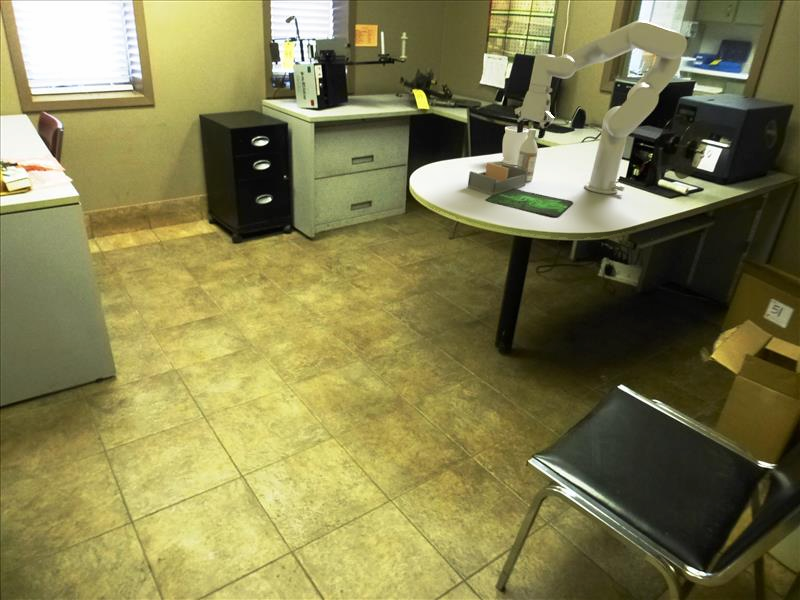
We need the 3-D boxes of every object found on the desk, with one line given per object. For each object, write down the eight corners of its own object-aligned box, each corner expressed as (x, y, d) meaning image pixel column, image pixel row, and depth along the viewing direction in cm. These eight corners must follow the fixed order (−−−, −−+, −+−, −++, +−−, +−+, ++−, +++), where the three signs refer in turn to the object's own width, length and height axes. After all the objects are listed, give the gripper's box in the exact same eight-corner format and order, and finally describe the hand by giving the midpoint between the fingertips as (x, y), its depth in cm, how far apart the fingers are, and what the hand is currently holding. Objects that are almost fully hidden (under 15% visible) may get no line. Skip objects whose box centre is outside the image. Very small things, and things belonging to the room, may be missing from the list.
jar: (516, 159, 260) (522, 126, 253) (527, 165, 251) (533, 131, 244) (495, 160, 257) (500, 125, 249) (506, 166, 248) (511, 131, 241)
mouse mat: (482, 201, 203) (482, 198, 203) (504, 187, 220) (505, 185, 220) (556, 219, 192) (557, 216, 192) (574, 203, 209) (574, 201, 209)
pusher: (505, 186, 216) (508, 168, 213) (497, 188, 213) (500, 170, 209) (486, 180, 221) (488, 162, 218) (478, 182, 218) (480, 164, 215)
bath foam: (523, 182, 227) (532, 131, 218) (511, 177, 232) (519, 127, 223) (535, 181, 231) (545, 130, 221) (523, 176, 236) (532, 126, 226)
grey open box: (525, 185, 224) (527, 170, 221) (492, 195, 209) (494, 179, 206) (500, 178, 231) (503, 163, 228) (467, 187, 216) (469, 171, 213)
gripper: (564, 93, 213) (554, 139, 221) (525, 85, 223) (516, 129, 231) (554, 94, 208) (543, 141, 216) (514, 85, 218) (506, 131, 226)
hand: (529, 135), depth 223 cm, fingers open, 9 cm apart
